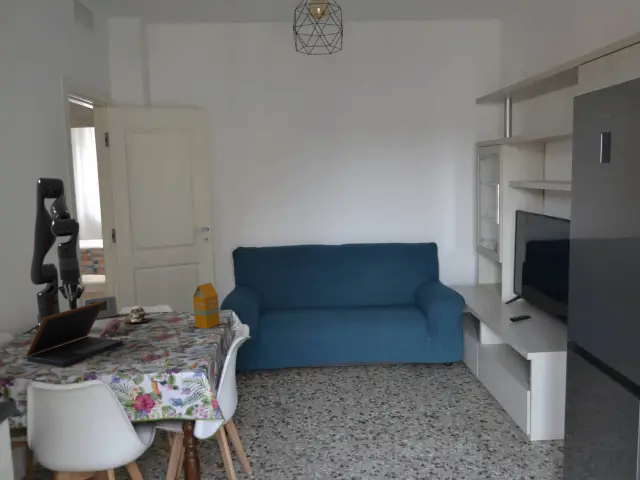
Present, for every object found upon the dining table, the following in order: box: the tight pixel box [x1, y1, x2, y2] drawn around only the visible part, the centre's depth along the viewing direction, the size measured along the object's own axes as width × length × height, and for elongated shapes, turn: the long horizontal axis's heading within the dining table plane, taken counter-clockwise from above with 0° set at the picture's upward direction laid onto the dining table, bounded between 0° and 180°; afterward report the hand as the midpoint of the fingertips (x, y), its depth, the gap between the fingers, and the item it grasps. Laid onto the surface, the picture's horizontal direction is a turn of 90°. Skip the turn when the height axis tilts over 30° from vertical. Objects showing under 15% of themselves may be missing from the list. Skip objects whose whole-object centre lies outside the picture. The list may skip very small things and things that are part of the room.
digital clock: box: [82, 295, 119, 320], centre depth 294 cm, size 16×9×11 cm, turn 103°
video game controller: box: [99, 320, 121, 338], centre depth 261 cm, size 10×5×7 cm, turn 168°
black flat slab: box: [26, 335, 123, 368], centre depth 236 cm, size 21×30×2 cm
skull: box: [124, 305, 151, 324], centre depth 283 cm, size 12×10×10 cm
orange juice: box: [192, 282, 221, 330], centre depth 269 cm, size 8×9×20 cm
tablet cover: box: [25, 301, 105, 357], centre depth 237 cm, size 21×30×1 cm
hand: (73, 309), depth 234 cm, fingers closed
